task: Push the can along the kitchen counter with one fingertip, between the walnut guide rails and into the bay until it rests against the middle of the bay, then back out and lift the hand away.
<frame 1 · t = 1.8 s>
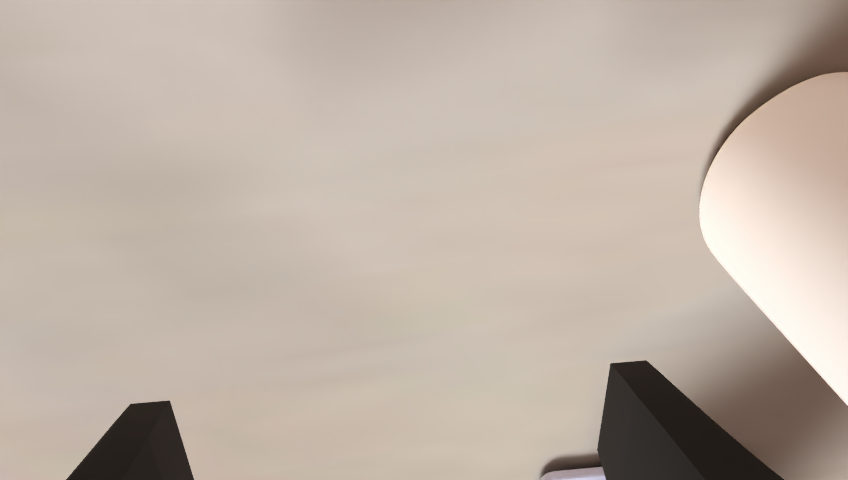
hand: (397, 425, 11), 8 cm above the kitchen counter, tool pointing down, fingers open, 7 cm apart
can: (799, 176, 19), on the kitchen counter
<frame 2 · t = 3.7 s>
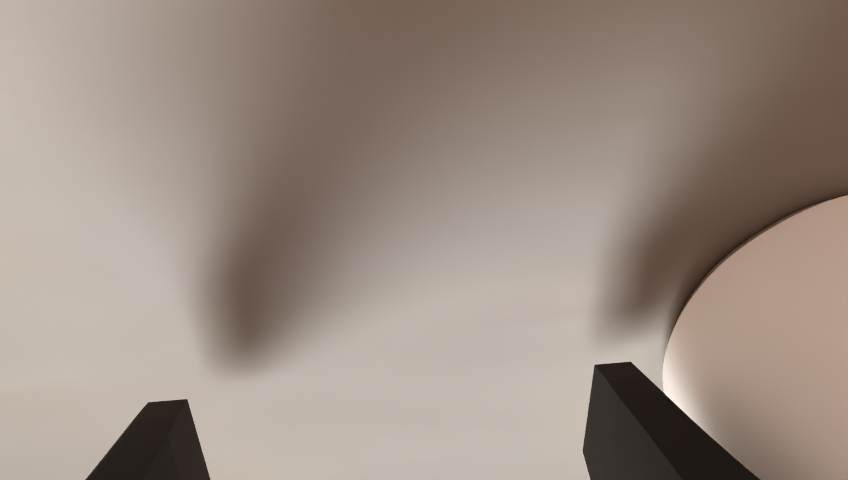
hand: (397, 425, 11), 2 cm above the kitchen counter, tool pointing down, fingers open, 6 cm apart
can: (808, 321, 13), on the kitchen counter, touching gripper
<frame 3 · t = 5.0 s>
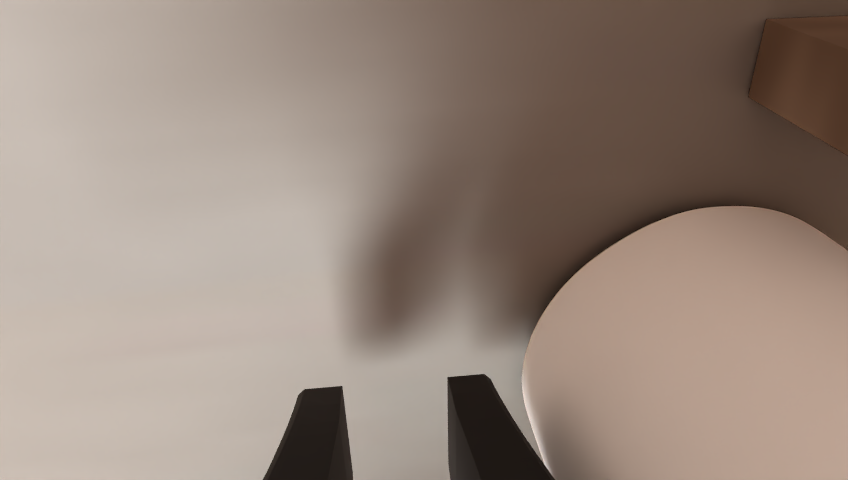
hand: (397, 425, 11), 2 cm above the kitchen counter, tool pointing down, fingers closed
can: (671, 336, 13), on the kitchen counter, touching gripper
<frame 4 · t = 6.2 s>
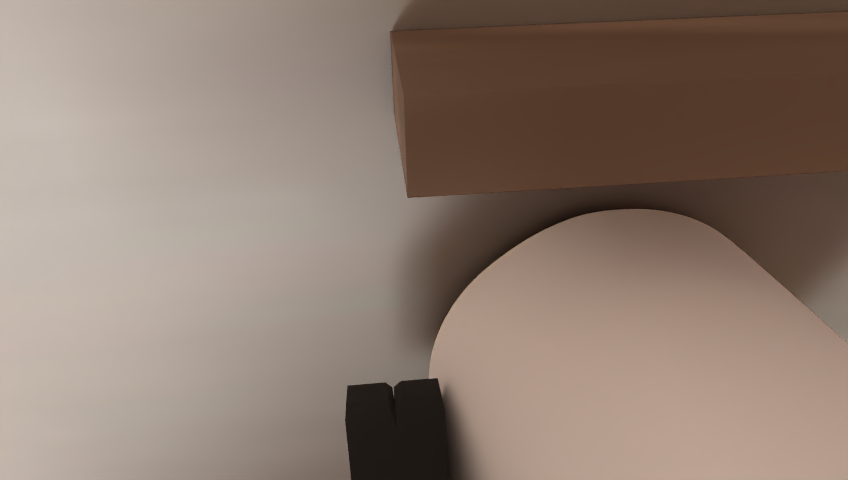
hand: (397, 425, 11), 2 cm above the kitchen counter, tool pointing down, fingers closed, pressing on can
can: (585, 340, 13), on the kitchen counter, touching gripper
bay: (756, 335, 13), on the kitchen counter
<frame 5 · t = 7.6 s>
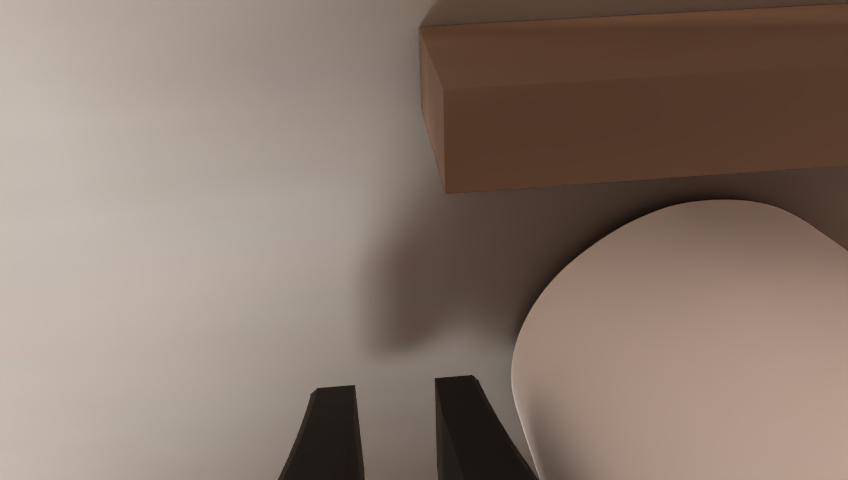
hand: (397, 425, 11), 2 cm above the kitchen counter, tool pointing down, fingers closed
can: (662, 331, 13), on the kitchen counter, touching gripper
bay: (782, 330, 13), on the kitchen counter
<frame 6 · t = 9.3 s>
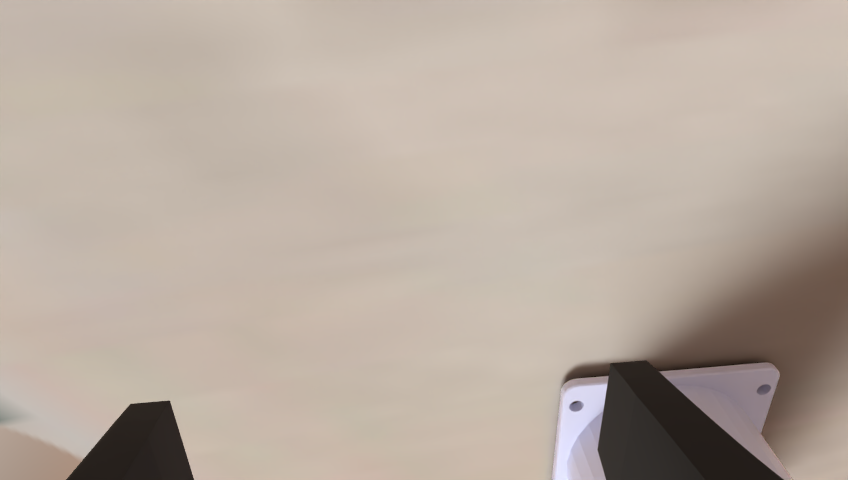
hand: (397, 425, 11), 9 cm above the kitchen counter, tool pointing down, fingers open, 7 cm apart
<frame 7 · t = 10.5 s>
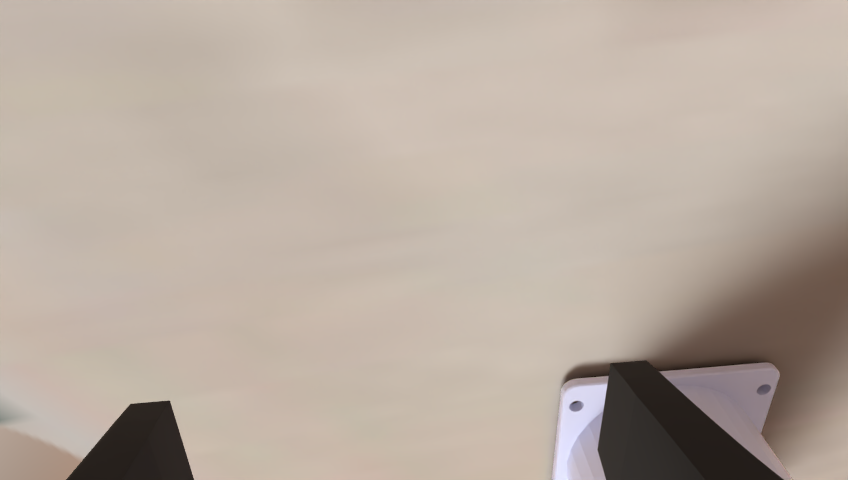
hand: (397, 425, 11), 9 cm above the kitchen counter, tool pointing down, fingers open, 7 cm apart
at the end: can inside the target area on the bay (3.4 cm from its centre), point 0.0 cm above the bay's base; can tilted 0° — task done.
